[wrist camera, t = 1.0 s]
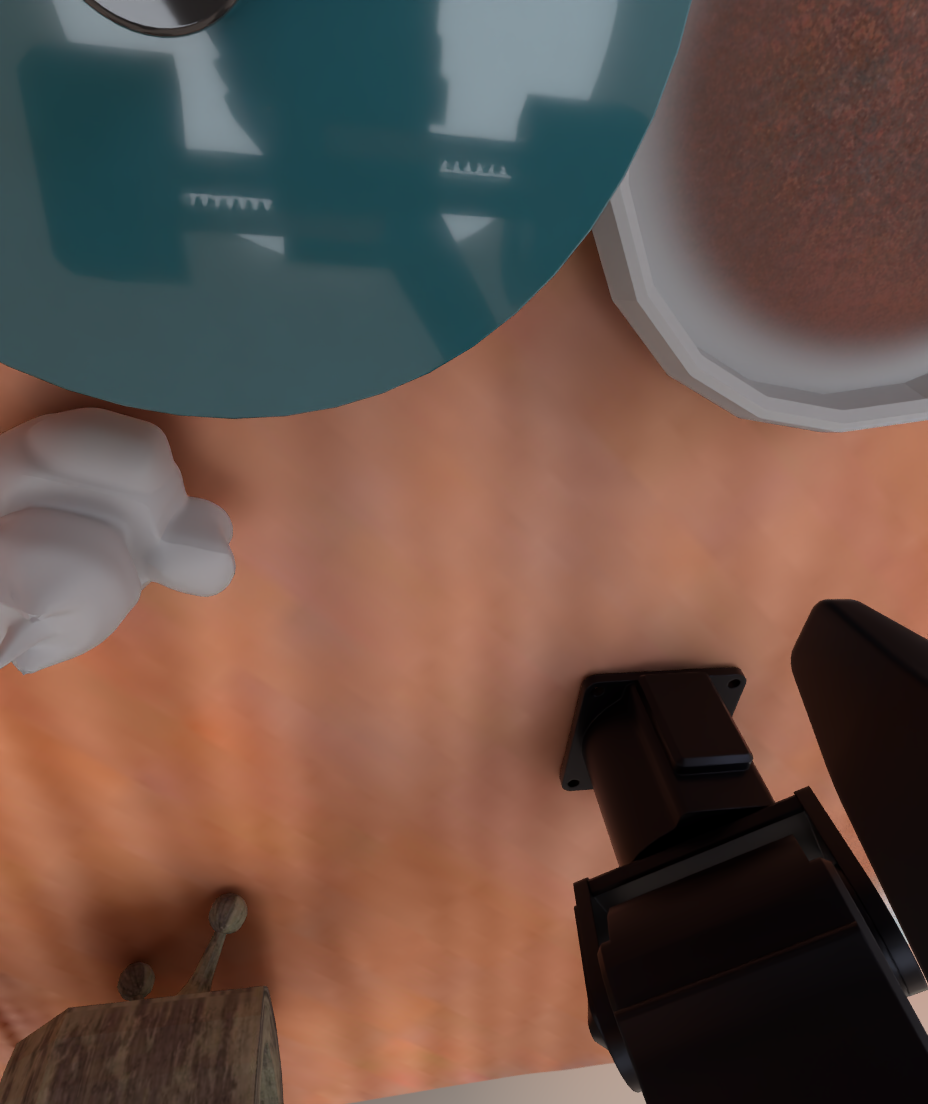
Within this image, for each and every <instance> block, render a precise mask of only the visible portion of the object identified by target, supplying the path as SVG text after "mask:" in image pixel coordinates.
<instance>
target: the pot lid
mask: <svg viewBox="0 0 928 1104" xmlns="http://www.w3.org/2000/svg"><path fill="white" fill-rule="evenodd" d="M691 2H692V0H0V362H1V363H2V364H4V365H6V366H8V367H11V368H13V369H16V370H18V371H21V372H23V373H26V374H29V375H31V376H34V377H36V378H39V379H41V380H44V381H46V382H49V383H51V384H54V385H56V386H59V387H61V388H64V389H66V390H70V391H73V392H77V393H80V394H84V395H87V396H91V397H94V398H98V399H101V400H105V401H108V402H112V403H115V404H119V405H123V406H127V407H133V408H139V409H145V410H150V411H156V412H162V413H168V414H173V415H179V416H195V417H211V418H227V419H241V418H259V417H278V416H289V415H295V414H301V413H306V412H312V411H318V410H324V409H329V408H335V407H339V406H342V405H345V404H349V403H352V402H355V401H359V400H362V399H365V398H369V397H372V396H375V395H378V394H382V393H385V392H387V391H389V390H391V389H394V388H396V387H398V386H401V385H403V384H405V383H407V382H410V381H412V380H414V379H416V378H419V377H421V376H423V375H425V374H428V373H430V372H432V371H433V370H435V369H437V368H438V367H440V366H442V365H443V364H445V363H447V362H448V361H450V360H452V359H453V358H455V357H457V356H458V355H460V354H462V353H463V352H465V351H467V350H469V349H470V348H472V347H474V346H475V345H476V344H477V343H479V342H480V341H481V340H483V339H484V338H485V337H486V336H488V335H489V334H490V333H492V332H493V331H494V330H496V329H497V328H498V327H499V326H501V325H502V324H503V323H505V322H506V321H507V320H508V319H510V318H511V317H512V316H514V315H515V314H516V313H517V312H518V311H519V310H520V309H521V308H522V307H523V306H524V305H525V304H526V303H527V302H528V301H529V300H530V299H531V298H532V297H533V296H534V295H535V294H536V293H537V292H538V291H539V290H540V289H541V288H542V287H543V286H544V285H545V284H546V283H547V282H548V281H549V280H550V279H551V278H553V277H554V276H555V274H556V273H557V272H558V271H559V269H560V268H561V267H562V266H563V264H564V263H565V262H566V261H567V259H568V258H569V257H570V256H571V254H572V253H573V252H574V251H575V249H576V248H577V247H578V246H579V245H580V243H581V242H582V241H583V240H584V238H585V237H586V236H587V235H588V233H589V232H590V231H591V230H592V228H593V226H594V225H595V223H596V222H597V220H598V218H599V217H600V215H601V214H602V212H603V211H604V209H605V207H606V206H607V204H608V203H609V201H610V200H611V198H612V196H613V195H614V193H615V192H616V190H617V188H618V187H619V185H620V184H621V182H622V181H623V179H624V177H625V175H626V173H627V171H628V169H629V167H630V165H631V163H632V161H633V159H634V157H635V155H636V153H637V151H638V149H639V147H640V145H641V143H642V141H643V139H644V137H645V135H646V133H647V131H648V129H649V127H650V125H651V123H652V120H653V118H654V116H655V114H656V111H657V108H658V105H659V103H660V100H661V97H662V95H663V92H664V89H665V86H666V84H667V81H668V78H669V76H670V73H671V70H672V67H673V65H674V62H675V59H676V57H677V54H678V51H679V48H680V44H681V41H682V37H683V33H684V29H685V25H686V21H687V17H688V14H689V10H690V6H691Z"/></svg>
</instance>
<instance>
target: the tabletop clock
mask: <svg viewBox="0 0 928 1104" xmlns="http://www.w3.org/2000/svg"><path fill="white" fill-rule="evenodd" d="M246 916H247V905H246V903H245V901H244V899H243V898H242V897H240V896H239V895H237V894H233V893H229V894H224V895H221V896H220V897H218V898H217V899H216V900H215V901H214V903H213V905H212V907H211V910H210V912H209V922H210V925H211V927H212V928H213V929H214V930H215V932H214V934H213V936H212V938H211V940H210V942H209V944H208V946H207V948H206V950H205V952H204V954H203V956H202V958H201V960H200V962H199V964H198V966H197V968H196V970H195V972H194V974H193V975H192V977H191V978H190V980H189V981H188V983H187V984H186V985H185V986H184V987H183V988H182V990H181V991H180V992H179V993H178V994H177V995H176V996H170V997H161V998H152V999H144V997H146V996H147V995H148V994H149V993H150V992H151V990H152V988H153V984H154V981H155V974H154V972H153V970H152V969H151V967H150V965H148V964H145V963H142V962H137V963H134V964H130V965H129V966H128V967H127V968H126V969H125V970H124V971H123V972H122V973H121V975H120V978H119V982H118V986H117V988H118V991H119V992H120V994H121V996H122V998H123V999H125V1000H128V1001H126V1002H117V1003H108V1004H99V1005H90V1006H82V1007H73V1008H68V1009H66V1010H65V1011H64V1012H62V1013H61V1014H59V1015H58V1016H56V1017H55V1018H53V1019H52V1020H50V1021H49V1022H48V1023H46V1024H45V1025H43V1026H42V1027H40V1028H39V1029H37V1030H36V1031H35V1032H33V1033H32V1034H30V1035H29V1036H27V1037H26V1038H24V1039H23V1040H21V1041H20V1042H19V1043H17V1044H16V1047H15V1049H14V1051H13V1053H12V1055H11V1058H10V1060H9V1062H8V1064H7V1066H6V1069H5V1071H4V1074H3V1076H2V1079H1V1082H0V1104H283V1085H282V1071H281V1061H280V1053H279V1045H278V1037H277V1029H276V1023H275V1018H274V1013H273V1008H272V1003H271V998H270V993H269V990H268V987H267V986H258V987H249V988H240V989H231V990H222V991H214V992H210V989H211V983H212V979H213V975H214V972H215V969H216V966H217V962H218V959H219V956H220V953H221V950H222V946H223V943H224V940H225V937H226V934H231V933H234V932H236V931H237V930H238V929H240V927H241V926H242V925H243V923H244V921H245V919H246Z"/></svg>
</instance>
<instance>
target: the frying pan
mask: <svg viewBox="0 0 928 1104" xmlns="http://www.w3.org/2000/svg"><path fill="white" fill-rule="evenodd" d="M592 232H593V235H594V239H595V242H596V246H597V249H598V253H599V256H600V260H601V263H602V267H603V270H604V274H605V277H606V281H607V284H608V288H609V291H610V294H611V298H612V300H613V302H614V303H615V304H616V306H617V307H618V309H619V310H620V311H621V313H622V314H623V315H624V317H625V318H626V319H627V321H628V322H629V323H630V325H631V326H632V328H633V329H634V330H635V332H636V333H637V334H638V336H639V337H640V338H641V340H642V341H643V342H644V344H645V345H646V347H647V348H648V349H649V351H650V352H651V353H652V355H653V356H654V357H655V359H656V360H657V361H658V363H659V364H660V366H661V367H662V368H663V370H664V371H665V372H666V374H667V375H668V376H670V377H672V378H673V379H675V380H677V381H678V382H680V383H682V384H683V385H685V386H687V387H688V388H690V389H692V390H693V391H695V392H697V393H698V394H700V395H702V396H703V397H705V398H707V399H708V400H710V401H712V402H713V403H715V404H716V405H718V406H720V407H721V408H723V409H725V410H726V411H728V412H730V413H731V414H733V415H735V416H736V417H738V418H742V419H748V420H753V421H759V422H765V423H771V424H777V425H782V426H788V427H794V428H800V429H806V430H811V431H817V432H847V431H854V430H861V429H868V428H875V427H882V426H889V425H896V424H903V423H910V422H917V421H924V420H928V0H692V2H691V6H690V10H689V14H688V17H687V21H686V25H685V29H684V33H683V37H682V41H681V44H680V48H679V51H678V54H677V57H676V59H675V62H674V65H673V67H672V70H671V73H670V76H669V78H668V81H667V84H666V86H665V89H664V92H663V95H662V97H661V100H660V103H659V105H658V108H657V111H656V114H655V116H654V118H653V120H652V123H651V125H650V127H649V129H648V131H647V133H646V135H645V137H644V139H643V141H642V143H641V145H640V147H639V149H638V151H637V153H636V155H635V157H634V159H633V161H632V163H631V165H630V167H629V169H628V171H627V173H626V175H625V177H624V179H623V181H622V182H621V184H620V185H619V187H618V188H617V190H616V192H615V193H614V195H613V196H612V198H611V200H610V201H609V203H608V204H607V206H606V207H605V209H604V211H603V212H602V214H601V215H600V217H599V218H598V220H597V222H596V223H595V225H594V226H593V228H592Z"/></svg>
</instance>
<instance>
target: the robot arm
mask: <svg viewBox="0 0 928 1104" xmlns="http://www.w3.org/2000/svg"><path fill="white" fill-rule="evenodd" d="M791 667H792V672H793V675H794V678H795V681H796V684H797V686H798V689H799V692H800V695H801V697H802V700H803V703H804V706H805V709H806V711H807V714H808V717H809V720H810V722H811V725H812V728H813V731H814V733H815V736H816V739H817V742H818V745H819V747H820V750H821V753H822V756H823V758H824V761H825V764H826V767H827V769H828V772H829V774H830V777H831V779H832V782H833V785H834V787H835V789H836V791H837V794H838V796H839V798H840V800H841V803H842V805H843V807H844V809H845V811H846V813H847V815H848V817H849V819H850V821H851V824H852V826H853V828H854V830H855V832H856V834H857V836H858V838H859V840H860V842H861V844H862V847H863V849H864V851H865V853H866V855H867V857H868V859H869V861H870V863H871V865H872V867H873V869H874V872H875V874H876V876H877V878H878V880H879V882H880V884H881V886H882V888H883V890H884V892H885V894H886V897H887V899H888V901H889V903H890V905H891V907H892V909H893V911H894V913H895V915H896V917H897V919H898V922H899V924H900V926H901V928H902V930H903V932H904V934H905V936H906V938H907V940H908V942H909V944H910V946H911V949H912V951H913V953H914V955H915V957H916V959H917V961H918V963H919V965H920V967H921V969H922V972H923V973H924V976H925V978H926V980H927V982H928V640H927V639H925V638H924V637H922V636H920V635H918V634H916V633H915V632H913V631H911V630H909V629H907V628H906V627H904V626H902V625H900V624H898V623H897V622H895V621H893V620H891V619H890V618H888V617H886V616H884V615H882V614H881V613H879V612H877V611H875V610H873V609H872V608H870V607H868V606H866V605H864V604H863V603H861V602H859V601H856V600H851V599H827V600H822V601H820V602H818V603H817V604H816V605H815V606H814V607H813V609H812V611H811V613H810V615H809V617H808V619H807V621H806V623H805V625H804V627H803V629H802V631H801V633H800V635H799V637H798V639H797V641H796V643H795V645H794V648H793V650H792V654H791ZM745 684H746V678H745V676H744V674H743V673H742V671H741V669H739V668H736V667H728V668H709V669H690V670H671V671H652V672H633V673H614V674H596V675H592V676H589V677H587V678H586V679H585V680H584V681H583V683H582V686H581V690H580V694H579V698H578V702H577V706H576V711H575V715H574V719H573V723H572V727H571V731H570V735H569V740H568V744H567V748H566V752H565V756H564V760H563V764H562V768H561V773H560V782H561V785H562V788H563V789H565V790H567V791H576V790H589V789H594V792H595V795H596V798H597V801H598V804H599V807H600V810H601V813H602V816H603V819H604V822H605V825H606V828H607V831H608V834H609V837H610V840H611V843H612V846H613V849H614V852H615V855H616V858H617V861H618V864H619V868H616V869H614V870H611V871H609V872H606V873H604V874H602V875H599V876H597V877H594V878H592V879H589V878H588V877H587V878H585V879H582V880H580V881H577V882H575V883H573V886H574V892H575V899H576V906H574V911H575V918H576V924H577V931H578V937H579V944H580V951H581V957H582V964H583V971H584V977H585V984H586V990H587V997H588V1026H589V1030H590V1033H591V1035H592V1037H593V1039H594V1041H595V1042H597V1043H598V1044H600V1045H602V1046H603V1047H605V1048H606V1049H608V1050H609V1052H610V1054H611V1056H612V1058H613V1060H614V1062H615V1064H616V1066H617V1068H618V1070H619V1072H620V1074H621V1075H622V1077H623V1079H624V1080H625V1081H626V1083H627V1085H628V1086H629V1087H630V1088H631V1089H632V1090H633V1091H635V1092H641V1091H642V1093H643V1096H644V1098H645V1101H646V1104H928V1035H927V1034H926V1032H925V1030H924V1028H923V1026H922V1024H921V1023H920V1021H919V1019H918V1017H917V1015H916V1013H915V1011H914V1010H913V1008H912V1006H911V1004H910V1002H909V1001H908V999H907V997H908V996H912V995H914V994H917V993H920V992H923V991H926V990H928V986H927V983H926V981H925V979H924V976H923V974H922V972H921V970H920V967H919V965H918V964H917V961H916V960H915V958H914V956H913V954H912V952H911V950H910V948H909V946H908V944H907V942H906V940H905V939H904V937H903V935H902V933H901V931H900V930H899V928H898V926H897V924H896V922H895V921H894V919H893V917H892V915H891V914H890V912H889V910H888V908H887V907H886V905H885V903H884V902H883V900H882V898H881V897H880V895H879V893H878V892H877V890H876V888H875V887H874V885H873V883H872V882H871V880H870V879H869V877H868V876H867V874H866V872H865V871H864V869H863V868H862V866H861V865H860V863H859V862H858V860H857V859H856V857H855V856H854V854H853V853H852V851H851V850H850V848H849V846H848V845H847V843H846V842H845V840H844V839H843V837H842V836H841V834H840V833H839V831H838V830H837V828H836V827H835V825H834V823H833V822H832V820H831V819H830V817H829V816H828V814H827V813H826V811H825V810H824V808H823V807H822V805H821V804H820V802H819V800H818V799H817V797H816V796H815V794H814V793H813V791H812V790H811V788H810V787H809V786H807V787H805V788H802V789H800V790H797V791H795V792H794V794H795V795H793V796H791V797H788V798H786V799H783V800H781V801H778V802H776V803H775V801H774V799H773V798H772V796H771V794H770V792H769V790H768V788H767V787H766V785H765V783H764V781H763V779H762V777H761V776H760V774H759V772H758V770H757V768H756V766H755V765H754V763H753V761H752V760H753V755H752V753H751V751H750V750H749V748H748V746H747V744H746V742H745V740H744V739H743V737H742V735H741V733H740V731H739V730H738V728H737V726H736V724H735V722H734V720H733V719H732V715H733V713H734V710H735V708H736V706H737V703H738V701H739V698H740V696H741V694H742V691H743V689H744V687H745ZM595 687H597V688H595Z"/></svg>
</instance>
